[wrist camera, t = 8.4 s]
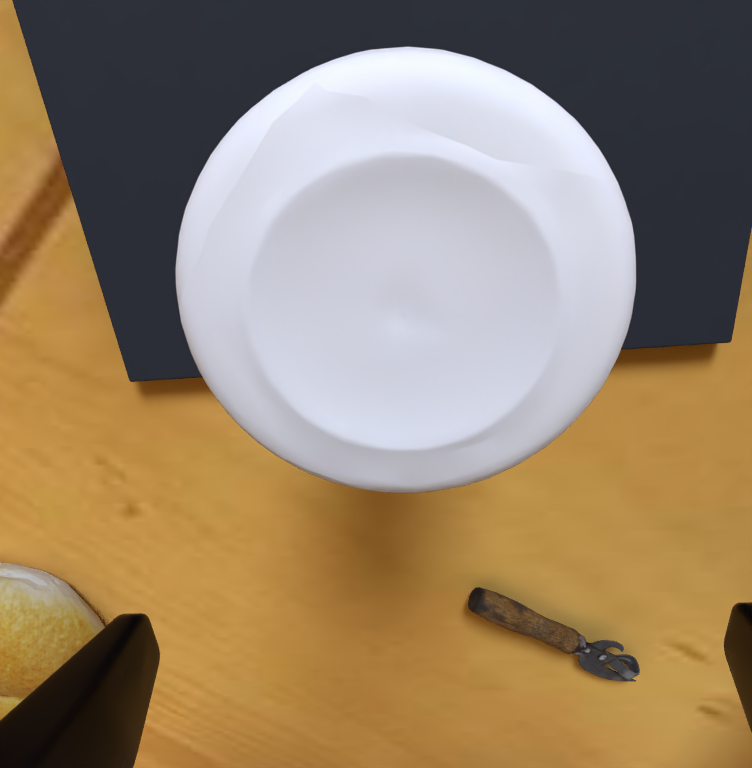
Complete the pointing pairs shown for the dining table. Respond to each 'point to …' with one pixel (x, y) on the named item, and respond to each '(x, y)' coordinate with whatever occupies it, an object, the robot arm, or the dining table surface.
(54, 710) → the robot arm
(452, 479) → the spice jar
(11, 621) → the bread roll
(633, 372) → the dining table surface
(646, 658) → the dining table surface
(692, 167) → the desk mat
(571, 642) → the can opener
